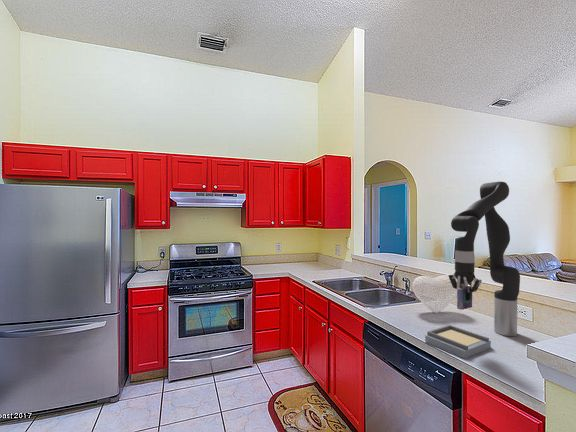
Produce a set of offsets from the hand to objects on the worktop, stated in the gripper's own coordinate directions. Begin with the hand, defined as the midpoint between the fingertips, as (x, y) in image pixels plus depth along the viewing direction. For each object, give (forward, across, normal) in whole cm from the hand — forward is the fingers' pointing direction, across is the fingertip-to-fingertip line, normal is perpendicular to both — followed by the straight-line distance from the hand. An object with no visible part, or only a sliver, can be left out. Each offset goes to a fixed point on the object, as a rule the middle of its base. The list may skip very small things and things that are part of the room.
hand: (464, 299), depth 132 cm
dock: (+21, +3, 0) cm, 21 cm away
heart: (+21, +34, -32) cm, 52 cm away
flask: (+4, 0, 0) cm, 4 cm away
